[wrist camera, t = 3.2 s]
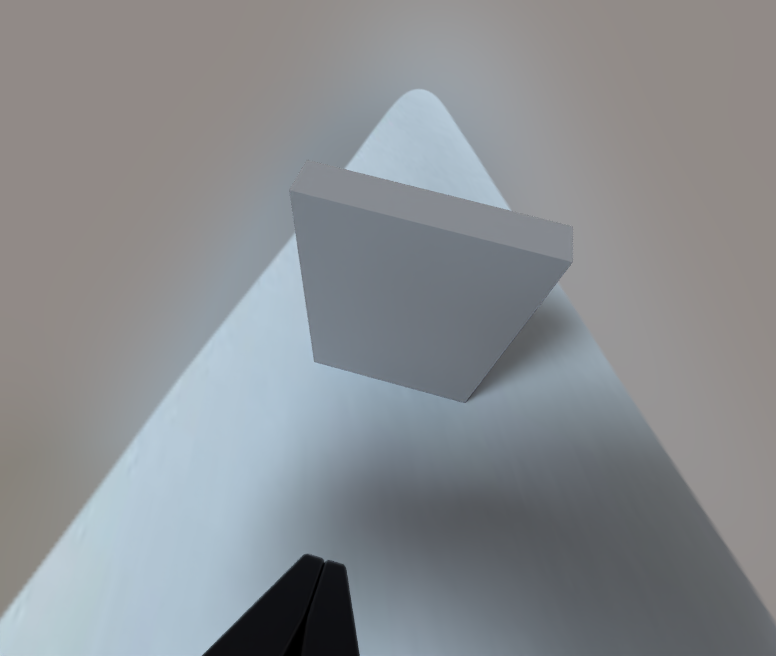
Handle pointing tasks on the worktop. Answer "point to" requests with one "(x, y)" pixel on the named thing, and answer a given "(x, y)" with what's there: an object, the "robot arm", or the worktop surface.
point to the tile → (417, 278)
